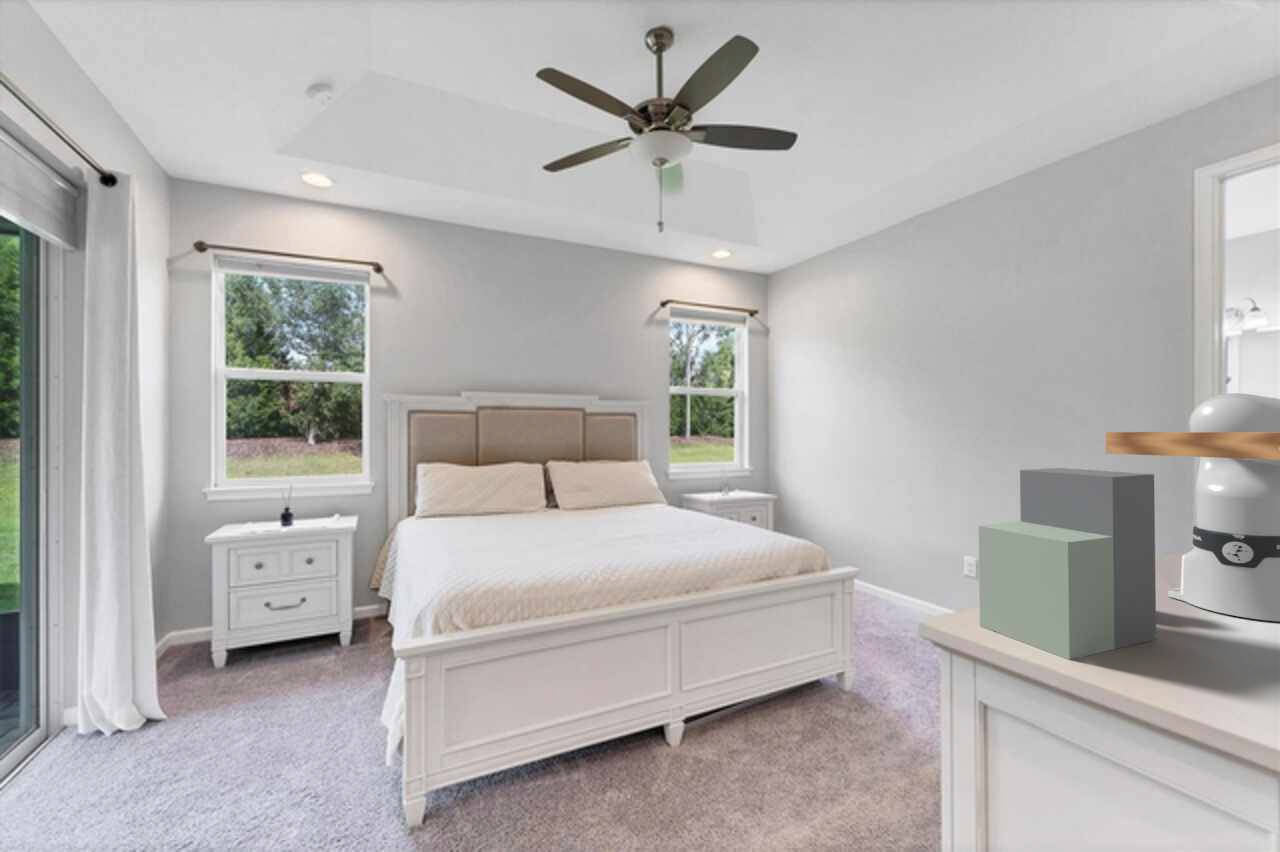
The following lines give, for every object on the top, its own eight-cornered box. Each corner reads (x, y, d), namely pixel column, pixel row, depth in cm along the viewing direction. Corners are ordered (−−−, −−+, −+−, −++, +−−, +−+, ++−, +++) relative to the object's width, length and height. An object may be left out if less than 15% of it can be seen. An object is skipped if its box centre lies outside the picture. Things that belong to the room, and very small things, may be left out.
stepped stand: (1156, 639, 85) (1154, 474, 85) (1069, 659, 78) (1067, 480, 78) (1060, 611, 98) (1059, 467, 98) (979, 626, 91) (977, 472, 91)
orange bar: (1365, 461, 57) (1364, 432, 57) (1350, 462, 56) (1350, 433, 56) (1119, 452, 77) (1119, 431, 77) (1106, 453, 76) (1105, 432, 76)
